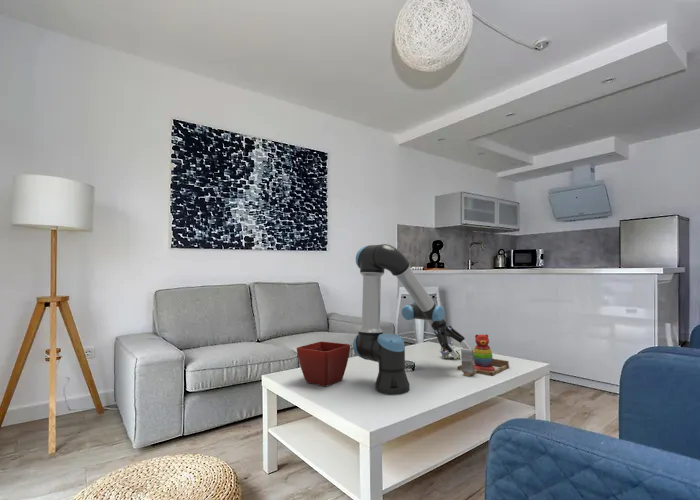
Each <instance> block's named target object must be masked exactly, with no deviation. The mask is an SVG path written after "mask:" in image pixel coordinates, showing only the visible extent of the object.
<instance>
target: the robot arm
mask: <svg viewBox="0 0 700 500" xmlns="http://www.w3.org/2000/svg"><path fill="white" fill-rule="evenodd" d="M355 264H356V265H357V267H358V269H359V274H361V275H360V276H362V301H361V302H362V305H361V306H362V307H361V308H362V309H361V327H360V328H359V329H358V332H357V334H356V336H355V338H354V339H353V343H352V344H353V351H354V353H355V355H357V356H358V357H359V358H361V359H364V360H367V361H372V362H375V363H378V373H377V377H376V380H375V384H374V387H375V389H374V390H375V391H376V392H377V393H379V394H384V395H395V396H396V395H402V394H406V393H408V392H410V390H411V387H410V381H409V379H408V376H407V373H406V353H405V352H406V348H405V347H406V346H405V339H404V338H403V337H401V336H400V335H397V334H394V333H384V331H383V329H381V298H382V297H381V289H382V276H384V275H385V270H387V271H388V272H389V273H391V275H392V276H395V277H396V278H397V279H398V280H399V282H400V283H401V285H402V286H403V287H404V289H405V291H406V292H407V293H408V294H409V296H410V297H411V299H412V300H413V303H411V304H407V305H404V306H403V307H402V308H401V316H402V317H403V319H404V320H407V321H412V320H421V321H423V320H425V321H426V322H427V324H429V325H430V326H431V328H432V329H433V330H434V334H435V336H436V338H437V340H438V342H439V345H440V348H441V347H442V348H443V349H445V348H446V349H447V350H448V352H449V353H450V354H449V355H450V356H451V357H452V358H453V359H454V360H455V359H456V358H457V359H458V358H459V357H458V356H459V355H458V354H457V353H456V351H457V350H455V348H454V349H453V348H452V346H451V345H448V343H449V341H448V337H449V338H451V339H453V340H456V342H458V343H459V345H460V346H461V347H462V349H463V348H467V349H472V348H471V347H470V346H469V345H468V343H467V342H466V341H465V336H464V335H462V334H461V333H460V332H458V331H457V330H456V329H455V328H453V327H452V325H449V326H447V321H446V320H445V319H444V318H445V316H446V311H445V308H444V307H443V306H442V305H439V304H438V305H436V303H435V302H434V300H433V299H432V297H431V295H429V293H428V291H427V290H426V288H424V286H423V284H422V283H421V281H420V280H419V279H418V277H417V276H416V273H414V271H413V269H412V268H411V267H410V265H411V264H410V261H409V260H408V258H407V257H406V256H405V254H403V253H402V252H401V251H400V250H399V249H397V248H396V247H395V246H393V245H391V244H388V243H387V244H386V243H383V244H369V245H365V246H362V247H361V248H360V249H359V250H358V251H357V252H356V255H355Z"/></svg>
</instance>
